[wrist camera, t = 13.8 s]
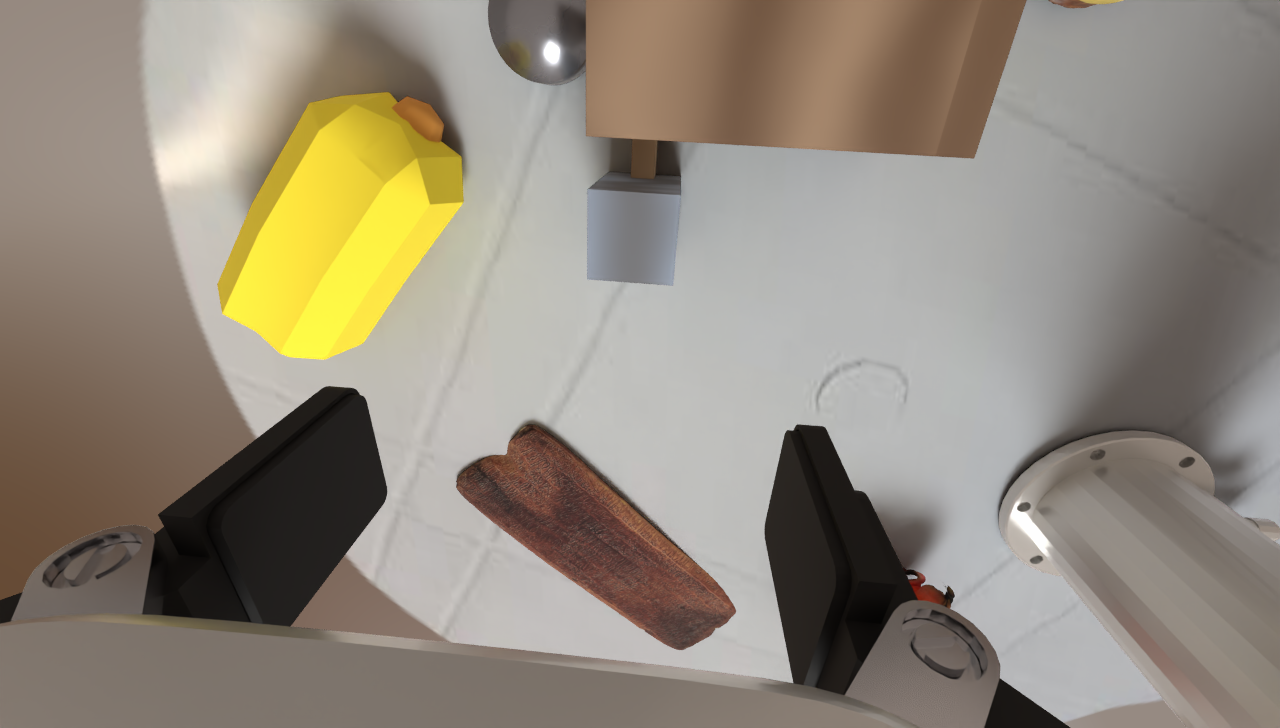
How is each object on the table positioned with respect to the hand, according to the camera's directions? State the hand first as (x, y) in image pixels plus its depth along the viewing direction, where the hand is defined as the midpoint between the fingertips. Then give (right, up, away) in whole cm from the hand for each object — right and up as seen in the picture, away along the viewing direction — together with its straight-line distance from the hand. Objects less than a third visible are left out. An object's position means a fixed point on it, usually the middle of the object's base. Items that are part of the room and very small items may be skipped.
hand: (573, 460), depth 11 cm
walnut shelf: (+7, +18, +13) cm, 24 cm away
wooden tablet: (-1, -13, +30) cm, 33 cm away
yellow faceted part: (-15, +11, +19) cm, 27 cm away
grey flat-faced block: (+2, +15, +15) cm, 21 cm away
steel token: (-3, +19, +14) cm, 24 cm away
